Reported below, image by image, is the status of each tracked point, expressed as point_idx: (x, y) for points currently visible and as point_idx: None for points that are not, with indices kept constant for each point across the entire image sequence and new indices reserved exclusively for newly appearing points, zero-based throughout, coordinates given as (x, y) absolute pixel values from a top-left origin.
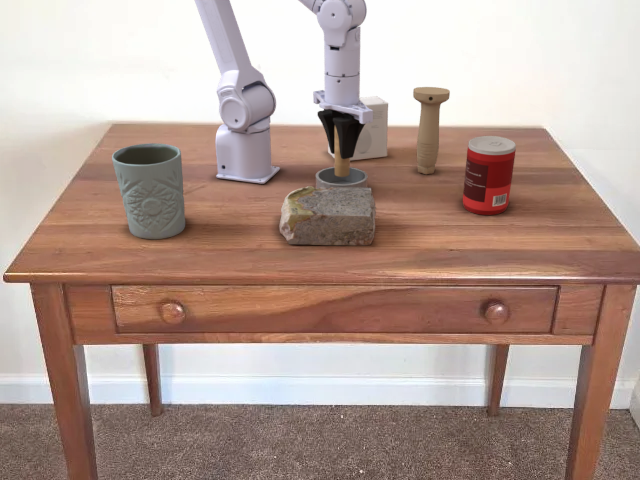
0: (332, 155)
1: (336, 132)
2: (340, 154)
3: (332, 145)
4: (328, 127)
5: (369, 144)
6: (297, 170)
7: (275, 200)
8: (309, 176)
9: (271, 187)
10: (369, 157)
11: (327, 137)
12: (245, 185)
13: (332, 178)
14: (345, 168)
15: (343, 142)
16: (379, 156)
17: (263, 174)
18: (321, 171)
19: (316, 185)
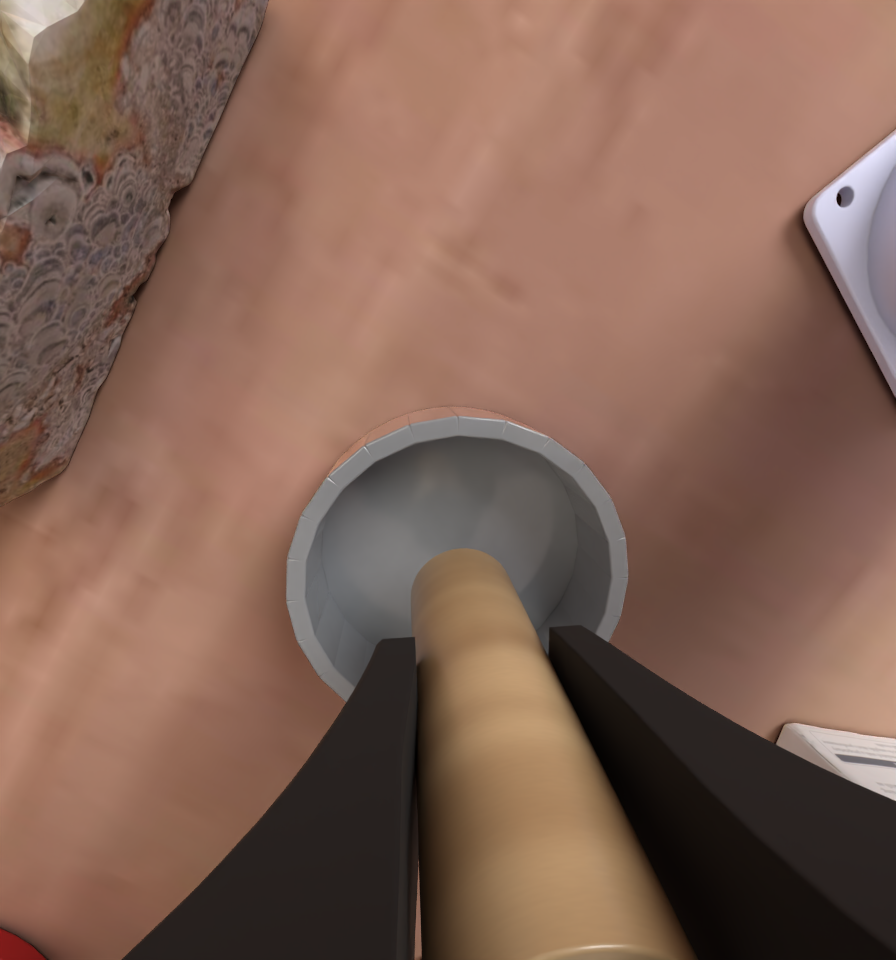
0: (863, 737)
1: (532, 841)
2: (410, 648)
3: (580, 673)
4: (733, 830)
5: None
6: (838, 500)
7: (554, 138)
8: (731, 512)
9: (736, 234)
10: None
11: (680, 697)
12: (864, 102)
13: (581, 574)
14: (412, 622)
15: (308, 763)
16: None
17: (886, 241)
18: (598, 514)
19: (509, 419)
